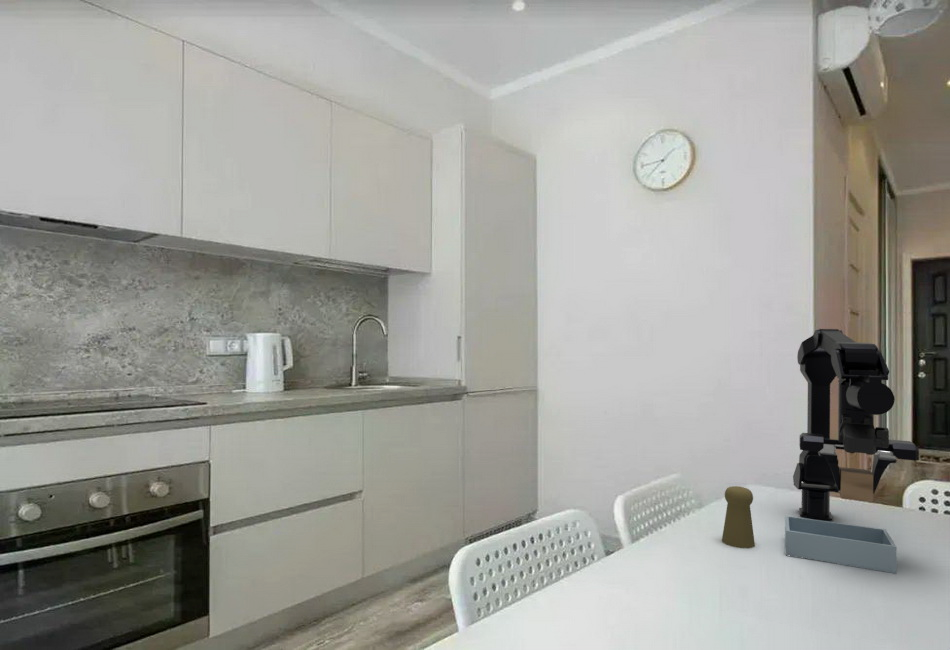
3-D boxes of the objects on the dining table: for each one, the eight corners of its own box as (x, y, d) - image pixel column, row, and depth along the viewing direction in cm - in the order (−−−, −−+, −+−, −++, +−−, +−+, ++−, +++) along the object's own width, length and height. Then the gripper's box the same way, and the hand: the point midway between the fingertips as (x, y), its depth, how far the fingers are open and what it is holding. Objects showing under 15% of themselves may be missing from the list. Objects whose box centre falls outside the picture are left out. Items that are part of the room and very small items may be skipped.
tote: (785, 538, 122) (785, 515, 122) (885, 553, 114) (885, 529, 114) (785, 555, 112) (786, 530, 112) (896, 573, 104) (896, 547, 104)
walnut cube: (838, 492, 116) (839, 466, 116) (869, 496, 113) (869, 469, 114) (841, 498, 111) (841, 471, 111) (873, 502, 109) (873, 474, 109)
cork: (748, 538, 121) (749, 484, 121) (759, 549, 115) (760, 492, 115) (717, 537, 122) (718, 483, 122) (727, 547, 116) (728, 490, 116)
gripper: (801, 409, 110) (800, 494, 110) (925, 417, 101) (925, 509, 101) (799, 404, 120) (799, 482, 119) (912, 411, 111) (912, 495, 111)
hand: (855, 491), depth 112 cm, fingers closed on walnut cube, 5 cm apart
